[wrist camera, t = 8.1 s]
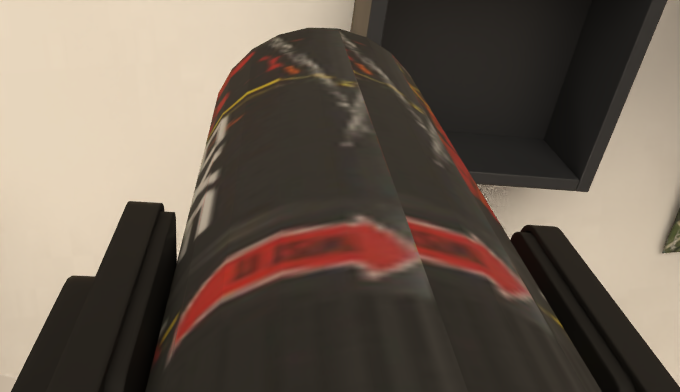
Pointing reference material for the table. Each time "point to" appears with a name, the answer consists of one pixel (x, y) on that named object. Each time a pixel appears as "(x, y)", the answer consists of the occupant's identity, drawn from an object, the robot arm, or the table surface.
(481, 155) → the bin
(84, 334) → the robot arm
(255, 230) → the deodorant
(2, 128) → the table surface
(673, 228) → the eiffel tower figurine
